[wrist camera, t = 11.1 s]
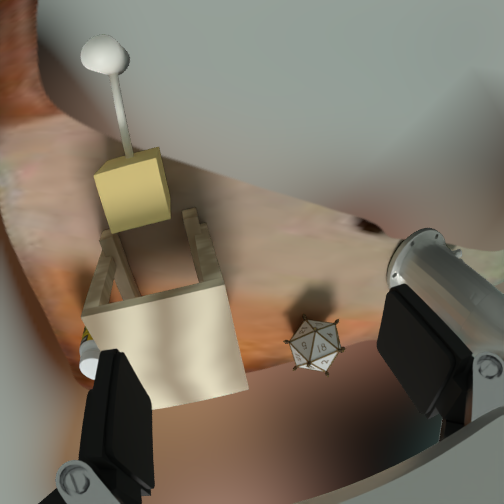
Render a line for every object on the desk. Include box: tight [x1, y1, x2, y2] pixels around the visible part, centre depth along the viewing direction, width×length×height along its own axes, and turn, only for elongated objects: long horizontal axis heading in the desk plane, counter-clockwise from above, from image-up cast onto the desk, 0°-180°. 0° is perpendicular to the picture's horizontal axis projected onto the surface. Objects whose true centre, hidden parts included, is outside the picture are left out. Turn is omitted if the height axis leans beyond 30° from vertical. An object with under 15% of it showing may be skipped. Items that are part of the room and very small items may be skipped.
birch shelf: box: [81, 207, 249, 410], centre depth 30 cm, size 12×16×12 cm
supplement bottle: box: [80, 326, 101, 380], centre depth 33 cm, size 5×5×8 cm
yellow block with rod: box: [81, 34, 171, 234], centre depth 23 cm, size 6×17×7 cm, turn 8°
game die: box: [283, 314, 345, 377], centre depth 42 cm, size 9×8×10 cm
